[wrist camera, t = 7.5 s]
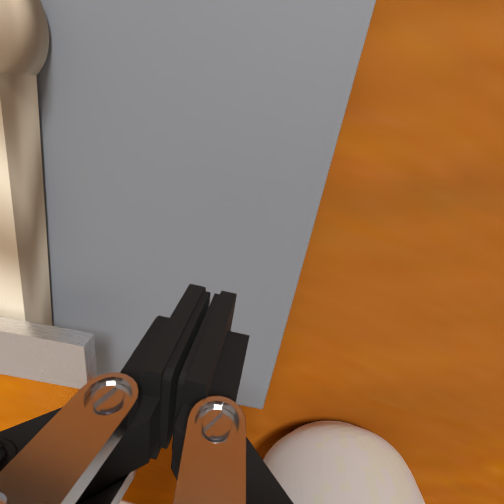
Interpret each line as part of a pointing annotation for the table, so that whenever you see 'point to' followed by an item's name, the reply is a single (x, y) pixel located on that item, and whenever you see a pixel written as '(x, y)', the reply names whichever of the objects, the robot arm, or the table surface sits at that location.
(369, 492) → the teacup
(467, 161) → the table surface
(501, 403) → the table surface
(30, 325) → the keeper
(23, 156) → the link
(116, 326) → the slate board
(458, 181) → the table surface
